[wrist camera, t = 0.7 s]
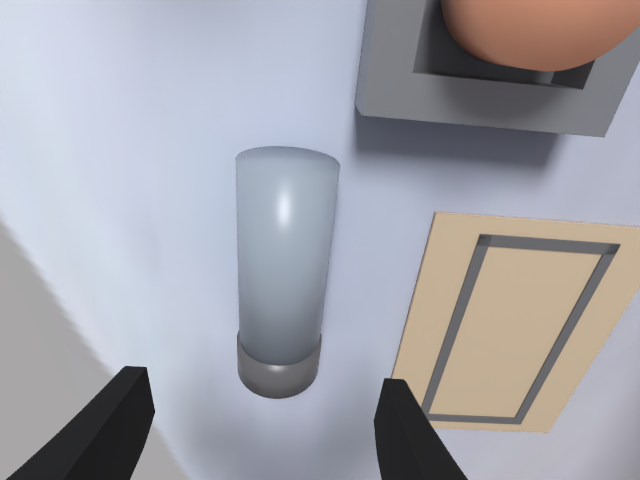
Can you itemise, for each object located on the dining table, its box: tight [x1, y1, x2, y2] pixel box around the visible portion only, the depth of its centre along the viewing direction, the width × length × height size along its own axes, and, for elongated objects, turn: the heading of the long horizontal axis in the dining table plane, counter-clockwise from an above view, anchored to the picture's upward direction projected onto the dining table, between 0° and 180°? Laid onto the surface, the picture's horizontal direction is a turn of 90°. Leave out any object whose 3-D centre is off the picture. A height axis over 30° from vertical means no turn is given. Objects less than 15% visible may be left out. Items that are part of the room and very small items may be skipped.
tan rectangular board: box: [391, 212, 640, 433], centre depth 22 cm, size 12×16×1 cm
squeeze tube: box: [236, 146, 340, 399], centre depth 17 cm, size 4×11×4 cm, turn 175°
